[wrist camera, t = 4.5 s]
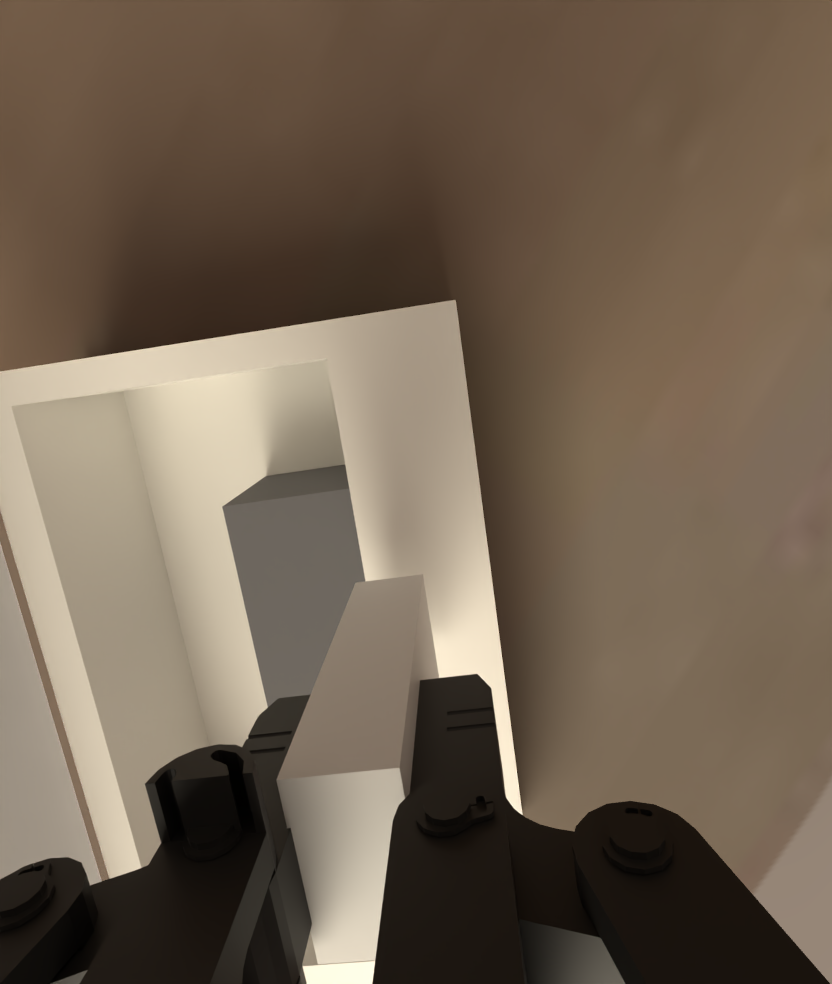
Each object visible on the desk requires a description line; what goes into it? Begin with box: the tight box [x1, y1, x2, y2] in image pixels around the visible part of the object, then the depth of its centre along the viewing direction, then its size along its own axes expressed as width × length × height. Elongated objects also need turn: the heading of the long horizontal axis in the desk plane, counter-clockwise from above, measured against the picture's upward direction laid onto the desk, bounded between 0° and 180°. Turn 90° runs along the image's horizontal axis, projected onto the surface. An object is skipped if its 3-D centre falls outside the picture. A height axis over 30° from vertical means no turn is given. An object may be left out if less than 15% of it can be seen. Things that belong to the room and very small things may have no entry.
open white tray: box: [0, 300, 522, 984], centre depth 19 cm, size 18×12×6 cm, turn 9°
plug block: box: [222, 465, 365, 707], centre depth 19 cm, size 6×4×4 cm
